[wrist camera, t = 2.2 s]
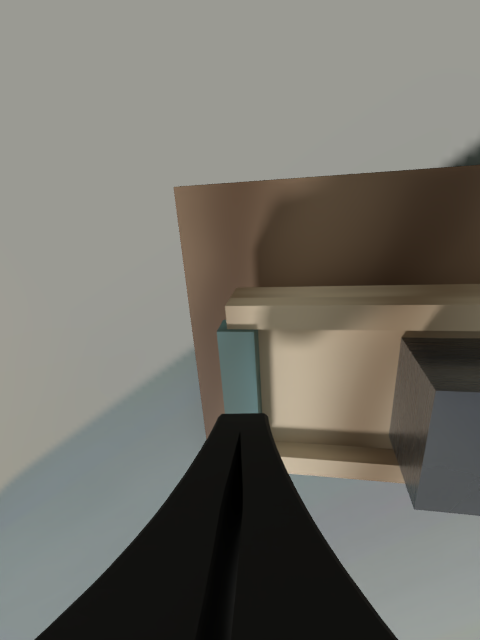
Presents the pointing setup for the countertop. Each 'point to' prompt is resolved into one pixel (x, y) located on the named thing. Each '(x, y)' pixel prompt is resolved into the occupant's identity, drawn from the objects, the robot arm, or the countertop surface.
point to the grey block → (438, 423)
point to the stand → (321, 242)
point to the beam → (332, 366)
